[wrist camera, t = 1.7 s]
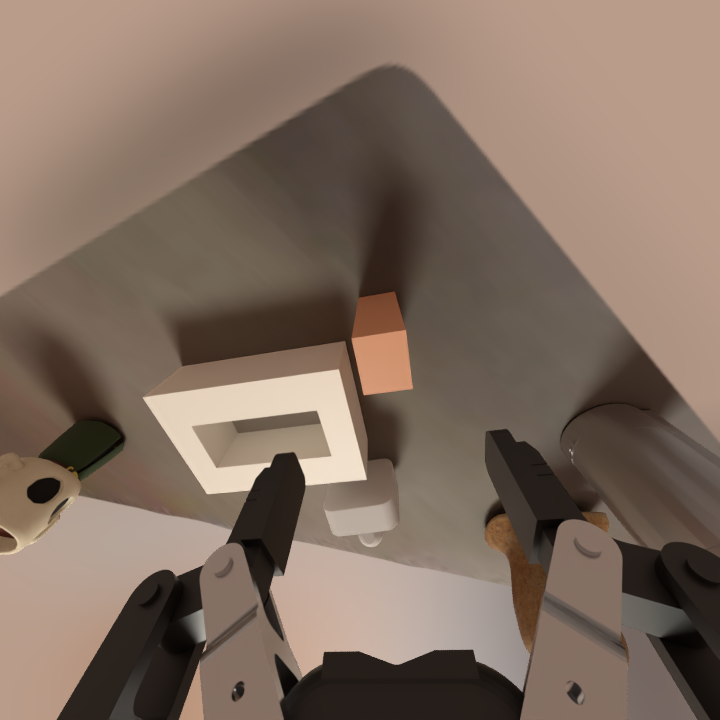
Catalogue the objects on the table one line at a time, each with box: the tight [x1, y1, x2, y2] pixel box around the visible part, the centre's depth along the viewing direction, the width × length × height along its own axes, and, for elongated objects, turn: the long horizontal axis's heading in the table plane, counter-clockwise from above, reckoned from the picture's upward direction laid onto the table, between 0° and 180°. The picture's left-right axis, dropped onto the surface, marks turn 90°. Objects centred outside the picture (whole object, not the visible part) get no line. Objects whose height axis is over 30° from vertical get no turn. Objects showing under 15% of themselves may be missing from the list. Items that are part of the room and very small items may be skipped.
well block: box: [143, 341, 368, 494], centre depth 30 cm, size 19×14×6 cm
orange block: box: [352, 292, 413, 395], centre depth 23 cm, size 4×4×10 cm
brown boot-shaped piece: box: [485, 512, 629, 668], centre depth 35 cm, size 15×12×15 cm
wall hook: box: [323, 459, 399, 547], centre depth 35 cm, size 8×10×10 cm
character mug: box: [0, 421, 124, 554], centre depth 31 cm, size 11×7×13 cm, turn 175°
